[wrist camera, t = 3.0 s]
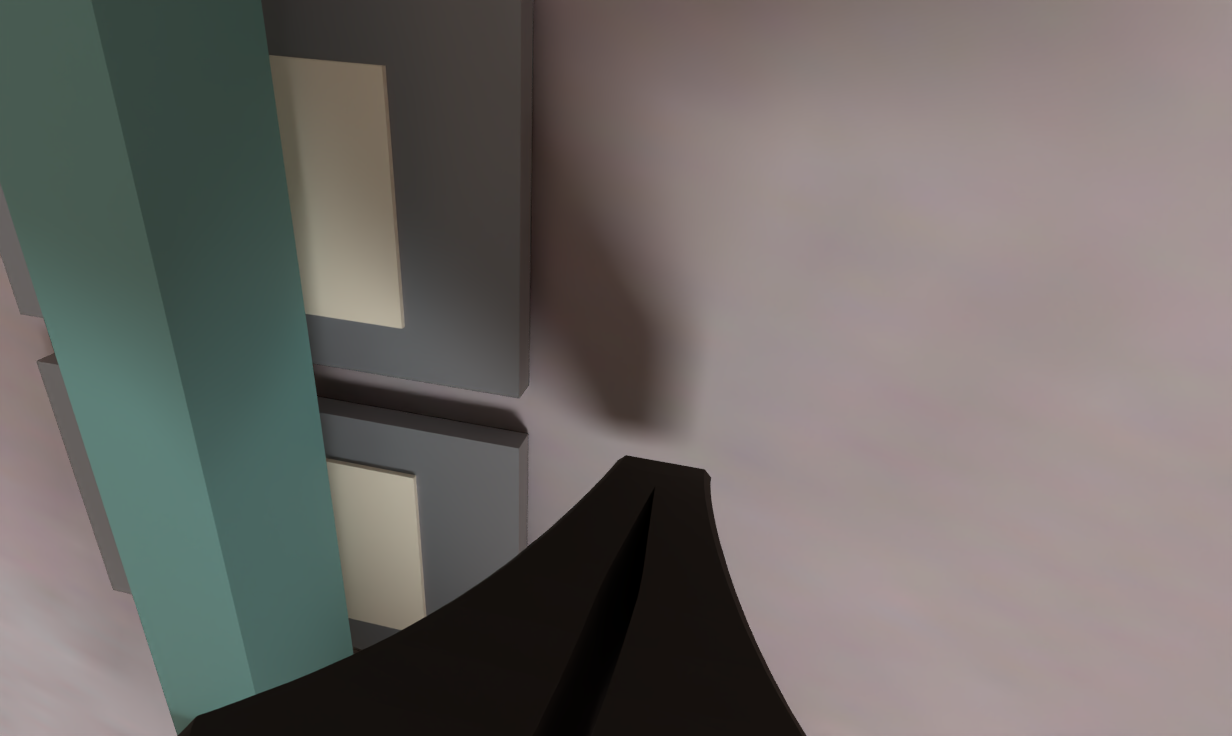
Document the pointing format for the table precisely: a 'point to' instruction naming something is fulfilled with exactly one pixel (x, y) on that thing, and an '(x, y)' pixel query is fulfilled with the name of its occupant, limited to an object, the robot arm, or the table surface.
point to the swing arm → (179, 326)
